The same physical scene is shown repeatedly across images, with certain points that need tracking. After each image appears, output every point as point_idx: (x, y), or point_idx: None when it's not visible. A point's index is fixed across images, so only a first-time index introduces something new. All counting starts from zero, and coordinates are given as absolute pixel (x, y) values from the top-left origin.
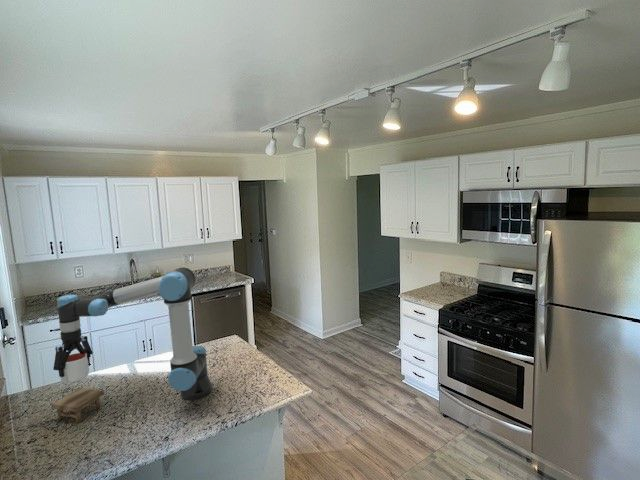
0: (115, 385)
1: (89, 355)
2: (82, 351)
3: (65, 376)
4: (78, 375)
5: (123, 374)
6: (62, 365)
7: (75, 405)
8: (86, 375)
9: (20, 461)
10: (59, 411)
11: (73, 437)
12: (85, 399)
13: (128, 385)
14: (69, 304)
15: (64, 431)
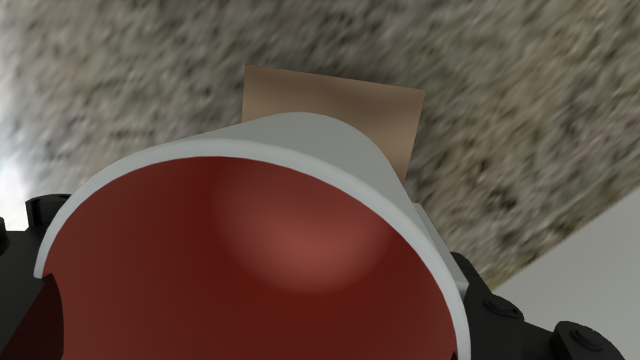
0: (116, 148)
1: (36, 219)
2: (14, 335)
3: (436, 234)
4: (363, 139)
5: (34, 175)
6: (521, 356)
7: (403, 115)
8: (288, 112)
9: (631, 145)
10: None
11: (497, 42)
12: (342, 103)
13: (102, 84)
14: None
15: (450, 118)
